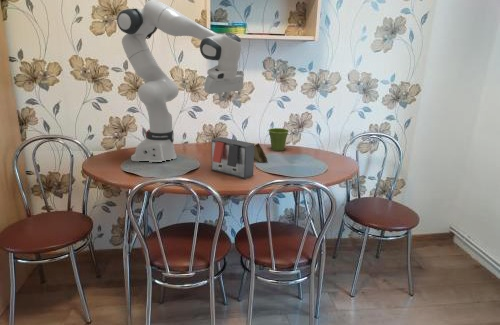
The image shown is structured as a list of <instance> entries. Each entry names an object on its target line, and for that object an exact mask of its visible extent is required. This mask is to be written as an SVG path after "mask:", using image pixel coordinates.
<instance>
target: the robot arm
mask: <svg viewBox="0 0 500 325" xmlns="http://www.w3.org/2000/svg"><path fill="white" fill-rule="evenodd" d="M116 24H117V27H118V28H119V30H120V31H121V32H123V33H125V35H124V36H123V37H122V38H121V44H122V48H123V52H124V53H125V55H126V57H127V59H128V62H129V63H130V65H131V66H132V69H133V70H134V72H135V73H136V75H137V77H139V78H140V79H142V80H143V81H145V83H143V84H142V85H140V86H139V88H138V89H137V90H138V91H137V96H138V98H139V100H140V102H141V103H143V105H144V106H145V108H146V112H147V115H148V121H149V124H148V125H149V129H147V130H146V133H145V137H146V138H145V139H143V140H142V141H141V142H140V143H139V144H137V146H136V147H135V152H134V153H133V154H131V157H130V160H131V161H132V162H139V161H149V162H148V163H152V162H162V161H165V162H167V161H166V160H170V161H172V160H171V159H173V160H175V159H176V158H178V157H177V154H176V150H175V143H174V141H175V135H174V134H175V133H174V130H173V116H172V114H171V113H170V112H169V110H168V107H167V102H171V101H173V100H174V99H176V98H177V97H178V95H179V91H180V90H179V86H178V84H177V83H176V82H175V81H174V80H172V79H171V78H170V77H169V76H168V75H167V74H166V72H164V70H162V68H161V67H160V66H159V64H158V62H157V61H156V59H155V57H154V56H153V53H152V52H151V50H150V48H149V46H148V44H147V41H146V39H147V40H149V39H151V37H152V35H153V34H155V33H156V31H157V30H160V31H161V32H162V33H165V34H166V35H169V36H172V37H183V36H184V37H191V38H196V39H198V40H200V44H199V51H200V53H201V56H202V57H203V58H204V59H206V60H211V61H217V65H215V66H214V67H211V68H209V69H208V70H207V73H206V74H207V76H206V78H205V81H204V87H203V90H204V91H205V93H206V94H207V95H208V94H209V95H215V94H217V95H218V101H219V102H225V101H226V100H227V97H228V96H229V95H230V92H240V91H242V90H243V89H244V78H245V77H244V76H245V73H244V71H242V70H238V68H239V60H240V57H241V53H242V52H241V51H242V40H241V38H240V37H239V36H238V35H237V34H236V33H231V32H225V33H223V32H217V31H215V30H212V29H211V28H208V27H207V26H205V25H203V24H202V23H199V22H197V21H195V20H194V19H191V18H190V17H188V16H186V15H185V14H183V13H181V12H179V11H177V9H175V8H173V7H171V6H170V5H168V4H166V3H164V2H162V1H159V0H148V1H146V3H145V4H144V5H143V8H142V9H138V8H125V9H123V10H121V11H120V12H119V13H118V14H117V17H116ZM162 163H163V162H162Z"/></svg>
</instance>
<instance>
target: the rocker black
mask: <svg viewBox="0 0 500 325" xmlns="http://www.w3.org/2000/svg"><path fill="white" fill-rule="evenodd" d="M238 147H239V146H234V145H229V153H228V162H227V165H228V166H232V167H236V163H237V155H238Z"/></svg>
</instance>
